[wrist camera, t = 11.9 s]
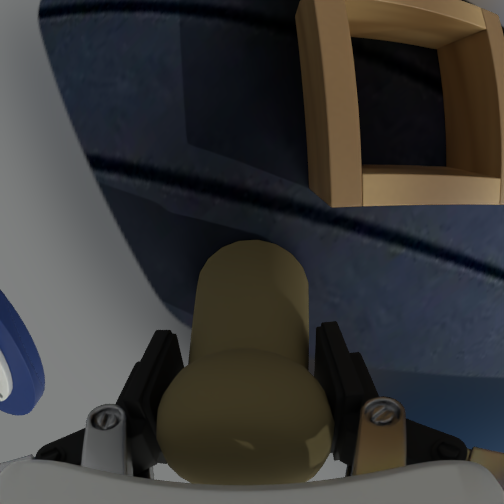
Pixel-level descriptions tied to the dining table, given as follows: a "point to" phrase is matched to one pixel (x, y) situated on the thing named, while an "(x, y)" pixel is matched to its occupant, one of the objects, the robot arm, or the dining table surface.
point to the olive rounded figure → (247, 377)
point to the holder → (454, 96)
